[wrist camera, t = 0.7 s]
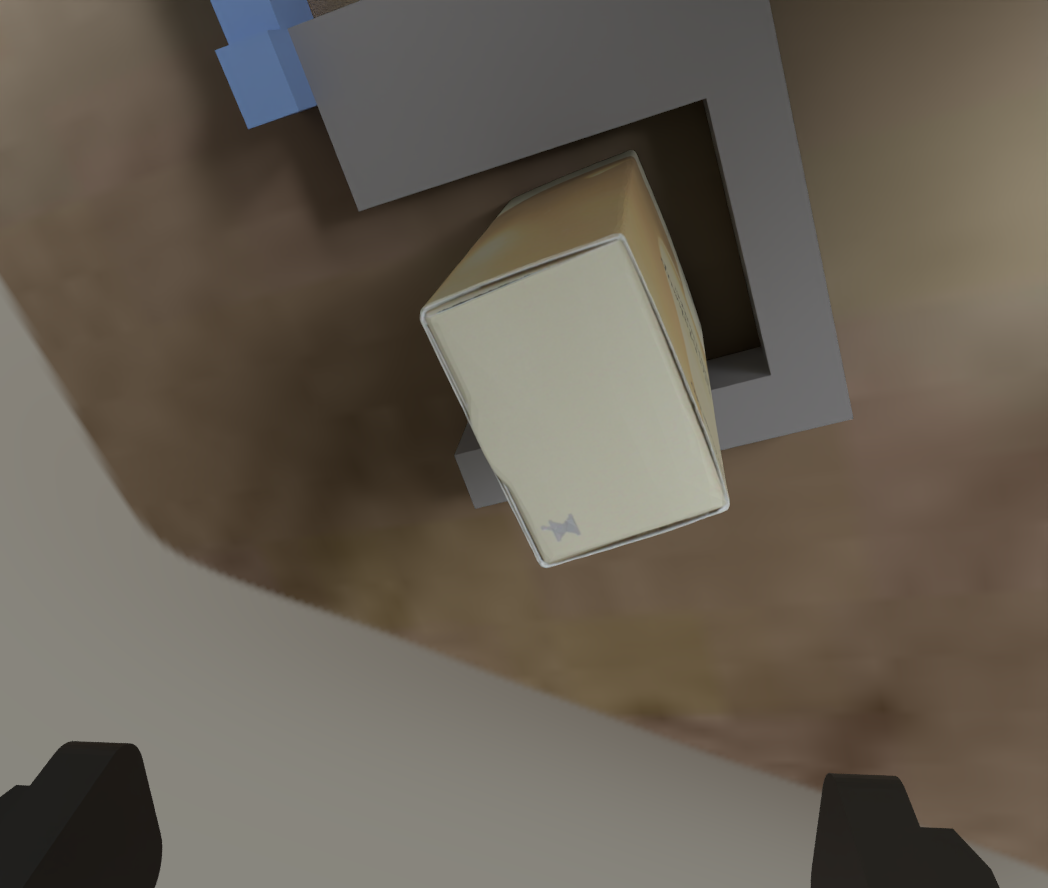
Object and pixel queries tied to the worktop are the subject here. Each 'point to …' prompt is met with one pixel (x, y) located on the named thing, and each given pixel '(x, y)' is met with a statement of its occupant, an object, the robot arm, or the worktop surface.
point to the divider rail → (559, 118)
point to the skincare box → (583, 365)
